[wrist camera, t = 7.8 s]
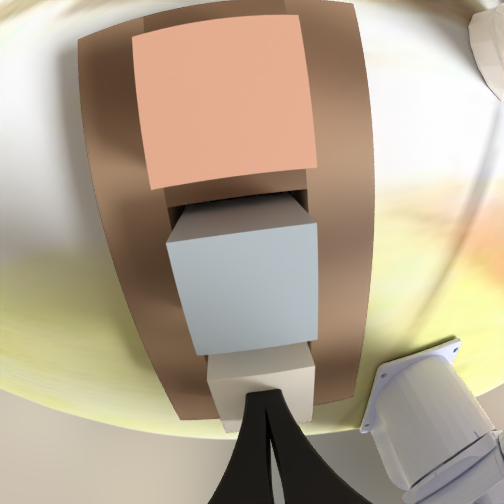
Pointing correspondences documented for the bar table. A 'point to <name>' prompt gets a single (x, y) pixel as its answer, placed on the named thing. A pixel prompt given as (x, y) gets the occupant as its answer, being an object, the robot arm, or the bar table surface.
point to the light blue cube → (246, 273)
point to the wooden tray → (237, 193)
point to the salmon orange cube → (224, 99)
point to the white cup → (489, 47)
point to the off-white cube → (262, 380)
